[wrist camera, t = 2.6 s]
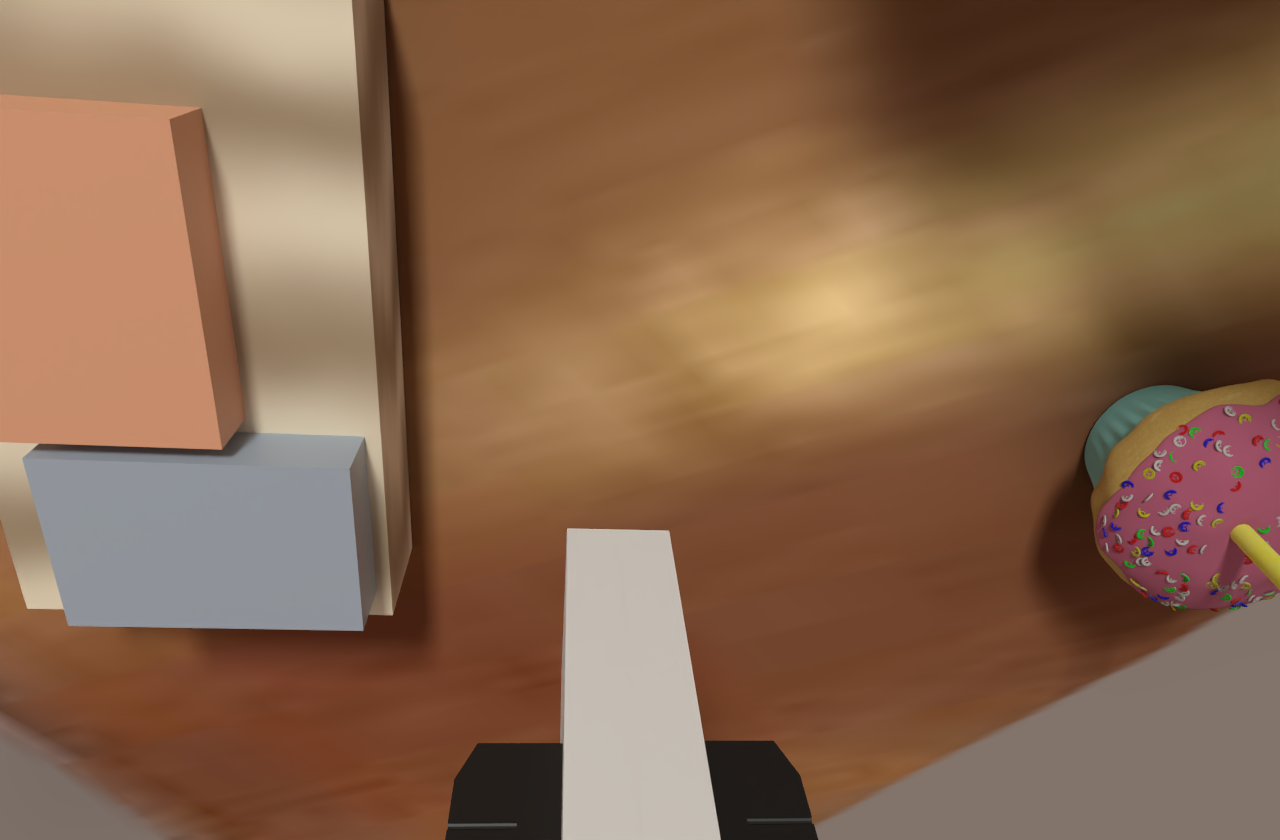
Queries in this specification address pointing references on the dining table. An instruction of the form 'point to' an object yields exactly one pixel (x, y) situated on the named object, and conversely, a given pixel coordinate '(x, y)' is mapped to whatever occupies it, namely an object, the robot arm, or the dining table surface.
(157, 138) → the orange flat block
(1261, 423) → the cupcake
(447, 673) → the dining table surface
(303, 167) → the beige flat box
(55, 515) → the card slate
